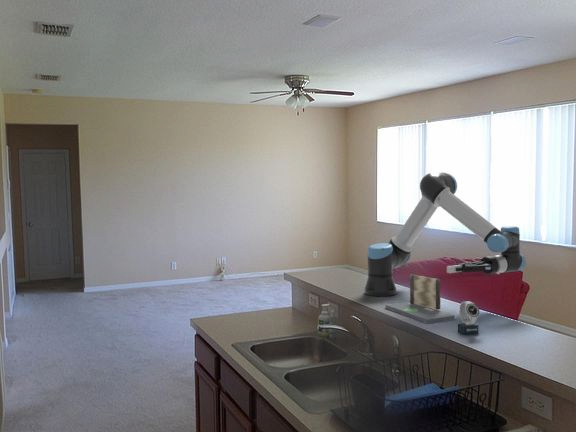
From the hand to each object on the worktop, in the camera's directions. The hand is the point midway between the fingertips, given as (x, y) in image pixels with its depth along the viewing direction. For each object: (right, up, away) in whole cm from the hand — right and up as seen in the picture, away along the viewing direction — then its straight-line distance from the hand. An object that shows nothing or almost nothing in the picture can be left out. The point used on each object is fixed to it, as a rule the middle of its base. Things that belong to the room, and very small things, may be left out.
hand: (448, 269), depth 220 cm
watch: (-2, -19, -31) cm, 36 cm away
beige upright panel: (-9, -15, +3) cm, 18 cm away
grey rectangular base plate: (-12, -18, -2) cm, 21 cm away
